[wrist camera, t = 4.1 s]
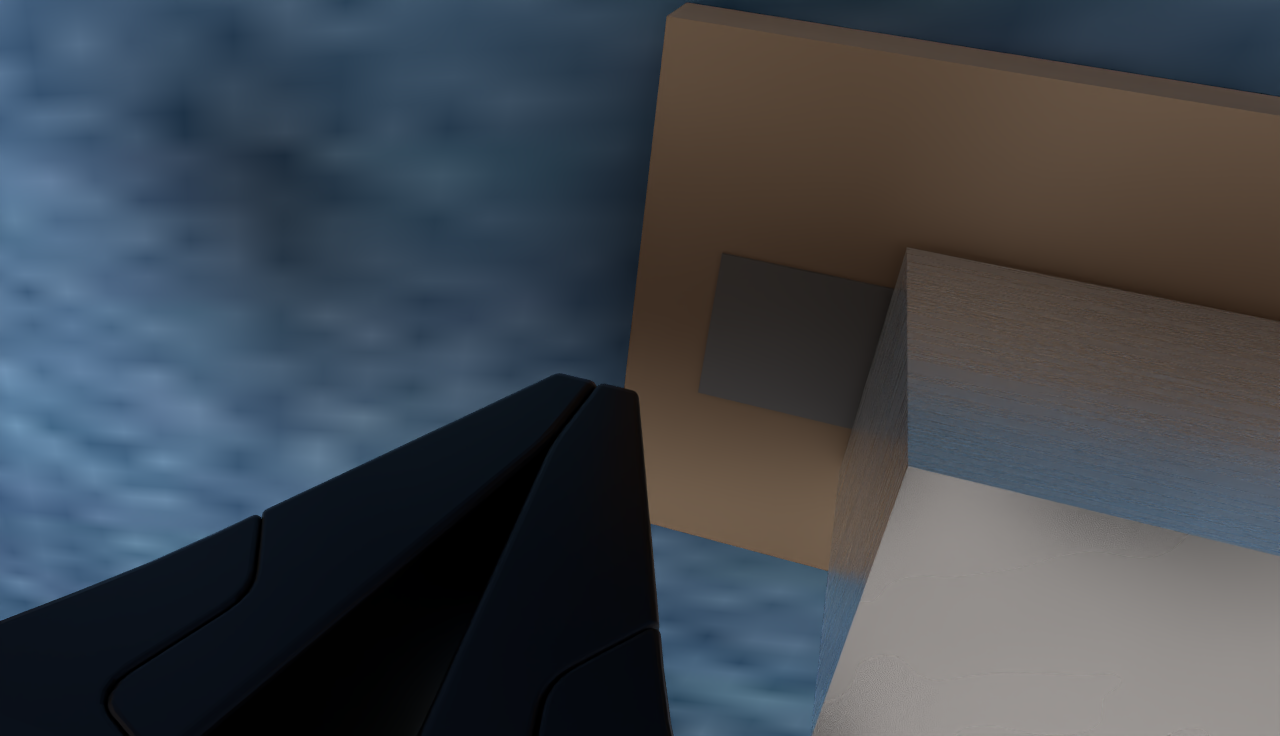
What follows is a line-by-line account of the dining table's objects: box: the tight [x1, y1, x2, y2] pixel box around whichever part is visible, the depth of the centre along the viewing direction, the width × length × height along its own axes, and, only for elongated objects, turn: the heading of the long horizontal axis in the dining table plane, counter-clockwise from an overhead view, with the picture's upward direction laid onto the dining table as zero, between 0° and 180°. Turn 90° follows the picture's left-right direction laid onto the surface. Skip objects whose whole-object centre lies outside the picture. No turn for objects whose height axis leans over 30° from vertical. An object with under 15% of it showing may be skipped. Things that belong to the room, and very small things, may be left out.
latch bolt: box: [811, 247, 1280, 736], centre depth 8 cm, size 3×5×4 cm, turn 84°
